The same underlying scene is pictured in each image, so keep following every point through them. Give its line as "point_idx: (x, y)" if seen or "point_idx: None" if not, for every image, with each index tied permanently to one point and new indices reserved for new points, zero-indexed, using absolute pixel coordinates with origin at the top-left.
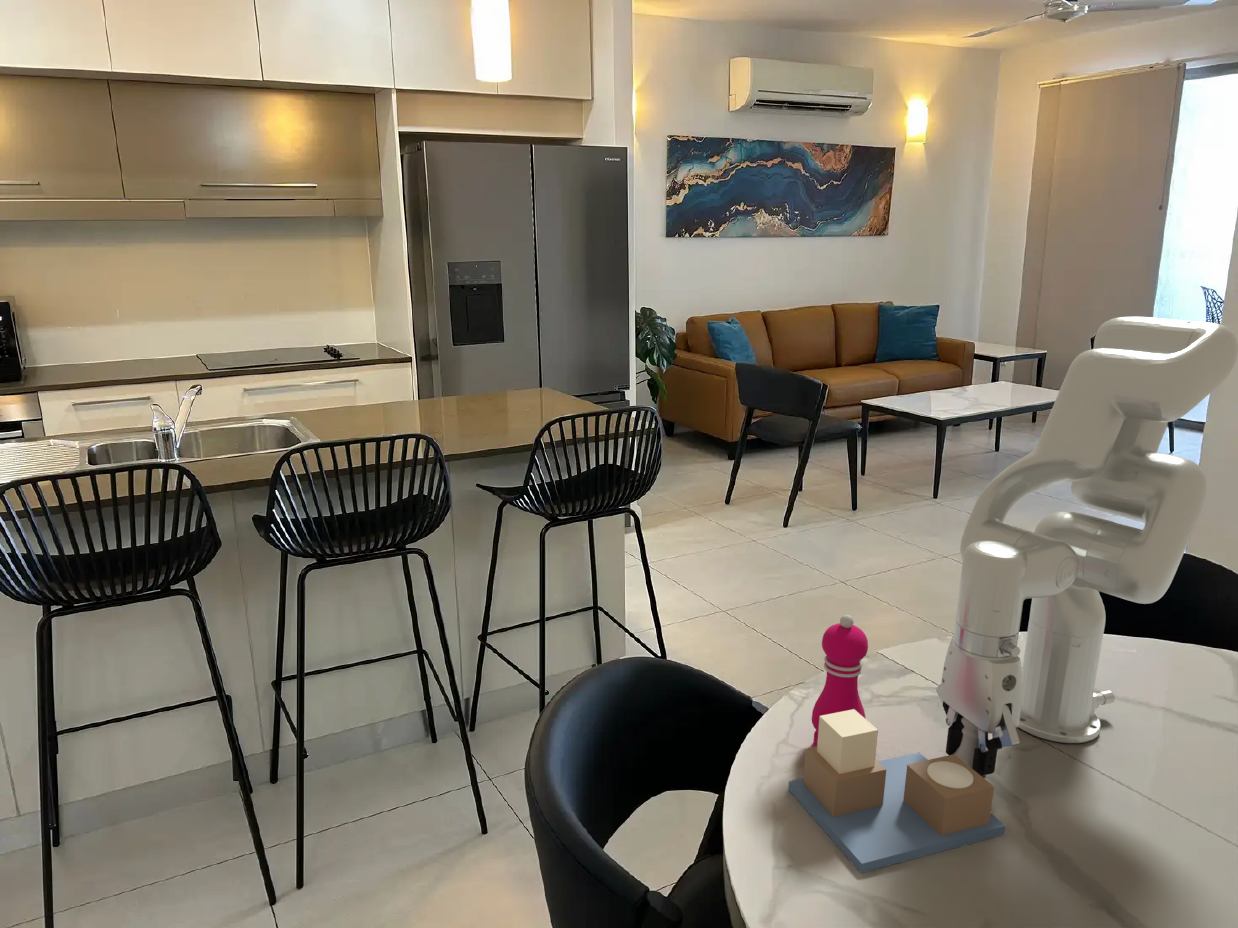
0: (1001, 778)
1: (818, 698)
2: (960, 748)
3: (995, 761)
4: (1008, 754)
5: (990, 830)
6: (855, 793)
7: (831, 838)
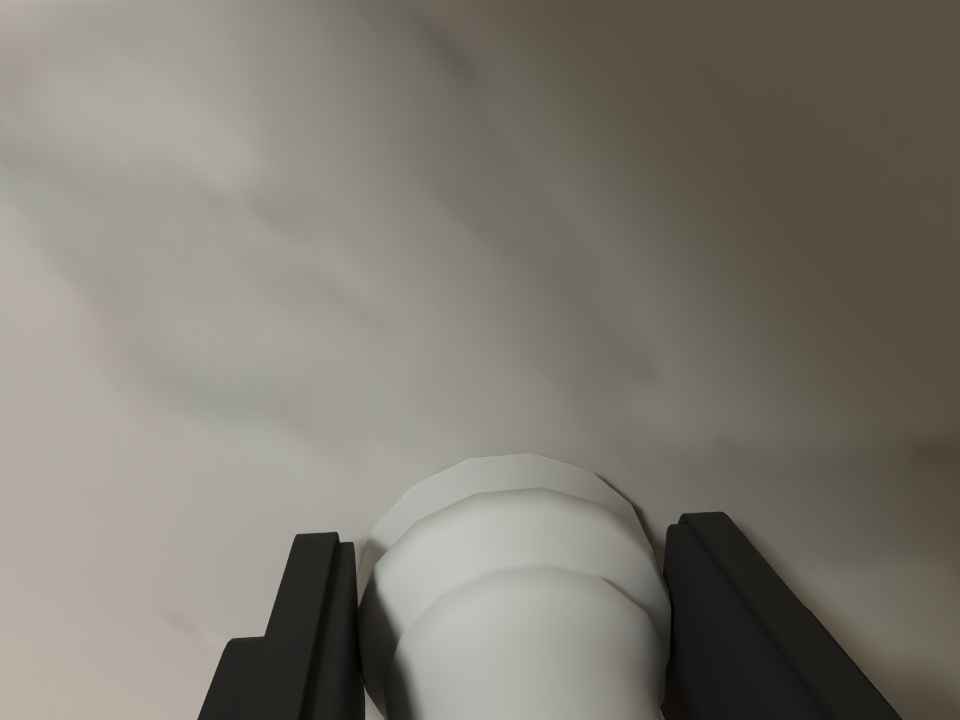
0: (705, 395)
1: None
2: None
3: (776, 578)
4: (413, 25)
5: None
6: None
7: None
